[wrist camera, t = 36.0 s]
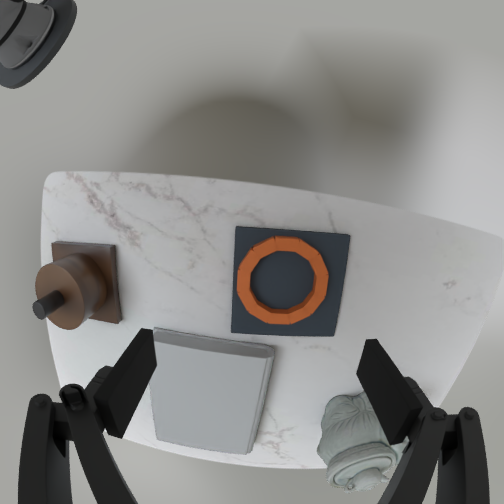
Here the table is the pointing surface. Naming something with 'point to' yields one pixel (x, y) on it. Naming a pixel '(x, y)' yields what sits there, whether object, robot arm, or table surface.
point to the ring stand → (78, 285)
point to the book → (208, 391)
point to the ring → (294, 312)
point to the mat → (290, 282)
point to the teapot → (355, 445)
